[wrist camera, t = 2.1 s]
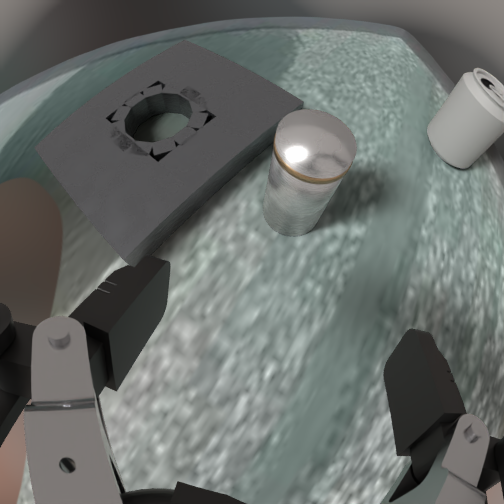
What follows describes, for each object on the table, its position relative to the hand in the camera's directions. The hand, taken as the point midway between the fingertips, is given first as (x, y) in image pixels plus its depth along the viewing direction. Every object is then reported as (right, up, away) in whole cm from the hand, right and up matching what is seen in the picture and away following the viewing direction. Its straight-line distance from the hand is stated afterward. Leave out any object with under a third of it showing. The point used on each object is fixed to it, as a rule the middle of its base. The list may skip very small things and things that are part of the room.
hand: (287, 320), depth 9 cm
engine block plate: (-10, +14, +19) cm, 26 cm away
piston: (+2, +6, +17) cm, 18 cm away
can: (+24, +15, +22) cm, 36 cm away
